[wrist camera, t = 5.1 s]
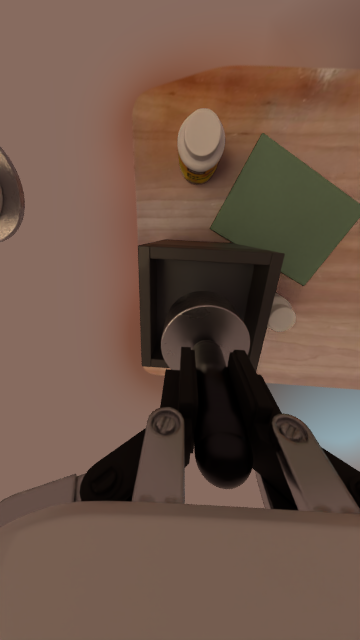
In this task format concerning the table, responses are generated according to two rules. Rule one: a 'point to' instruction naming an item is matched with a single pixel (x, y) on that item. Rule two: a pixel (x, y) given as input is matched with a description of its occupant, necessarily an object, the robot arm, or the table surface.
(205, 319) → the meat pounder
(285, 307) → the pill bottle
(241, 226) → the green mat
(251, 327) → the black box
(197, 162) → the supplement bottle
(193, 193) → the table surface
